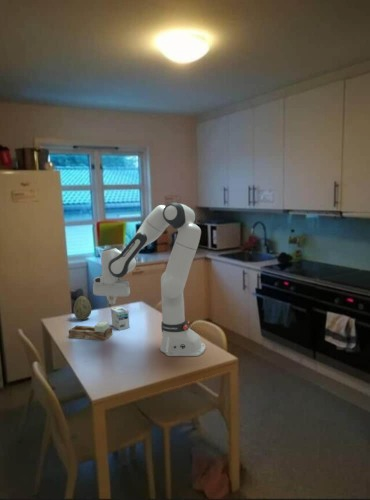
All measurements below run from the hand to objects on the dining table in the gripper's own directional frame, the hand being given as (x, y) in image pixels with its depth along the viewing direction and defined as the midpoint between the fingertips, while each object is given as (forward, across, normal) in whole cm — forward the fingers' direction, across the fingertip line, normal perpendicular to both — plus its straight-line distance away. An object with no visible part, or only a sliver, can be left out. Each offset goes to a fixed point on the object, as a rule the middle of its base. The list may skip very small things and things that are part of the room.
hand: (112, 303), depth 204 cm
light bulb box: (+19, +4, -17) cm, 26 cm away
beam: (+19, +14, 0) cm, 24 cm away
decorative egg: (+19, +33, -25) cm, 46 cm away
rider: (+17, +7, 0) cm, 18 cm away
